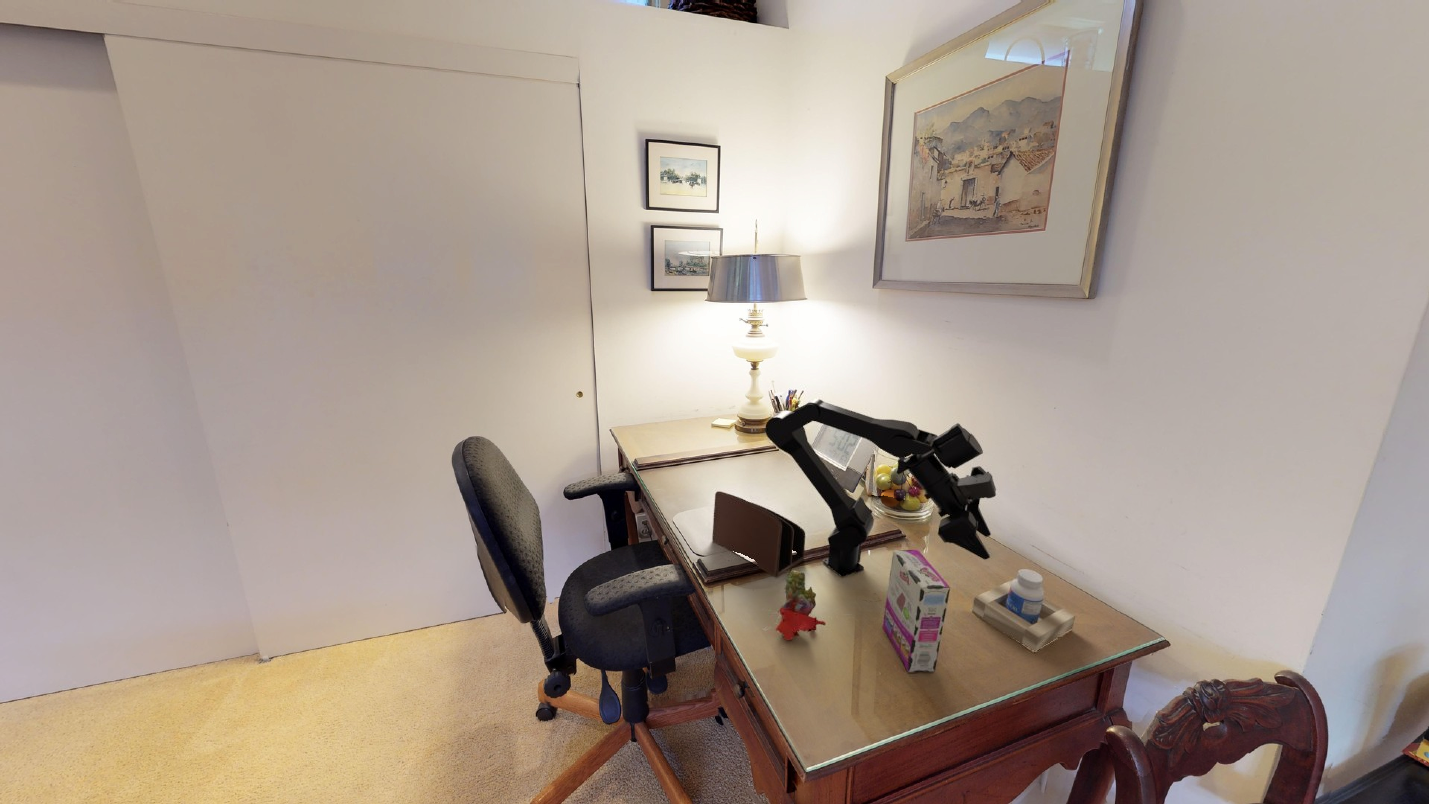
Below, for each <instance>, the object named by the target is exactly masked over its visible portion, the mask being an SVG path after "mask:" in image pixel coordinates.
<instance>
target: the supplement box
mask: <svg viewBox="0 0 1429 804" xmlns="http://www.w3.org/2000/svg"><path fill="white" fill-rule="evenodd" d="M874 462H875V454H874V453H872V457H871V461H870V463H869V466H868V465H867V466H868V470H867V469H866V476H865V490H866V495H867V496H870V497H871V495H872V492H873V469H874Z"/></svg>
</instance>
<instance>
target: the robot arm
mask: <svg viewBox="0 0 1429 804" xmlns="http://www.w3.org/2000/svg"><path fill="white" fill-rule="evenodd" d="M813 422H815V423H819V424H823V425H825V426H828V427H830V428H833V429H837V430H839V431H843V432H845V433H848V434H852V435H854V436H855V437H856V436H857V437H860V438H862V439H865V440H868V441H869V442H871V443H872V444H875V445H876V446H877V447H879V448H880V449H882V450H883V451H885V452H887V453H888V454H889V455H891V456H893V457H894V458H898V460H897V470H896V474H897V475H901V474H902V473H904V472H906V471H908V472H909V473H910V474H911V476H912V477H913V478H914V479H915V481H916V482H917V483H918V485H919V486H920V487H921V488H922V489H923V491H924V494H923V496H924V498H925V499H926V500H927V501H928V500H931V501H932V503H934V505H935V506H936V507H937V508H938V511H937V513H938V515H939V516H940V517H941V518H942V519H940V522H939V526H938V530H937V535H938V536H939V537H940V539H941V541H943V543H948V544H954V545H956V546H958V547H960V548H962V549H964V550H966V551H968V552H969V553H971V554H974V555H976V556H977V557H979V558H981V559H983V560H988V559H989V558H991V555H990V554H989V552H988V550H987V548H986V546H985V545H984V543H983V541H982V540H981V538H980V536H979V535H978V532H979V534H980V535H983V536H984V537H986V538H987V537H990V536H991V534H992V533H991V531H990V528H989V527H988V524H987V522H986V520H985V518H984V516H983V514H982V512H981V509H980V506H979V505H980V501H981V499H985V498H986V499H992V498H994V497H996V495H997V494H996V491H997V488H996V486H995V482H994V479H993V475H992V474H991V473H990V471H986V470H985V469H984V468H983V467H982V466H973V467H972V468H971V472H970V475H969V474H967V475H965V477H959V476H958V475H957V474H956V473H953V472H949V471H948V470H947V468H948V469H951V468H953V469H954V470H955V469H957V468H959V467H960V466H962V465H964V464H966V463H968V462H970V461H971V460H974V459H975V458H977V457H979V456H981V455H983V454H984V452H983V451H984V450H983V448H982V446H981V445H980V443H979V441H978V440H977V438H976V437H975V436H974V435H973V434H972V433H971V432H970V431H968V430H967V429H966V428H964V427H963V426H962V425H961V424H960V423H959V422H958V423H955V424H953V425H952V426H951V427H950V428H949V429H948V430H945V431H944V432H942V433H941V434H939V435H937V434H934V433H932V432H929V431H926V430H922V429H919V428H918V427H917V426H916V425H915V424H914V423H912V422H910V421H905V420H897V419H881V418H874V417H872V416H869V415H865V414H862V413H860V412H857V411H853V410H849V409H847V408H844V407H841V406H838V405H834V404H831V403H830V402H829V403H828V402H825V401H823V400H822V399H820V398H814V399H812V400H810V401H808V402H807V403H806V404H804V405H802V406H800V407H798V408H796V409H793V410H782V411H780V412H779V413H777V414H775V415H774V416H772V417H771V418H769V419H768V421H767V422H766V424H765V429H764V432H765V435H766V437H767V438H768V439H769V440H770V442H771V443H773V445H775V446H776V447H777V449H779V450H780V451H783V452H785V453H786V454H788V455H789V456H790V457H791V458H792V459H793V460H794V462H795V463H796V464H797V466H798V467H799V468H800V469H801V471H802V472H803V474H804V475H805V477H806V478H807V479H808V481H809V482H810V483H811V485H812V486H813V487H814V489H815V490H816V491H817V492H818V494H819V496H820V497H821V498H822V499H823V501H824V502H825V503H826V505H827V506H828V508H829V509H830V512H831V516H832V519H833V522H834V525H835V527H834V528H833V530H832V532H831V533H830V534H829V536H828V538H827V542H828V545H829V548H828V549H829V550H828V558H824V559H823V560H822V563H823V564H825V565H826V566H827V567H829V569H831V570H832V571H833V572H835V573H836V574H837V575H839V576H840V577H842V578H844V577H848V576H850V575H852V574H856V573H858V572H861V571H863V570H864V569H865V567H864V566H863V565H862V564H861V563H860V562H861V554H862V544H863V543H865V541H866V540H867V538H868V537H869V534H870V532H871V530H872V529H873V527H874V522H875V519H874V516H873V510H872V509H871V508H869V506H868V505H867V504H866V502H865V500H864V499H863V497H861V496H859V497H858V498H857V499H855V498H854V497H851V496H850V495H848V493H847V492H846V491H845V490H844V488H843V487H842V486H841V484H840V483H839V482H838V480H837V478H836V477H835V476H834V475H833V474H832V473H831V470H829V468H828V467H827V466H826V464H825V462H823V460H822V459H821V458H820V456H819V455H818V453H817V452H816V450H815V449H814V448H813V447H812V446H811V444H810V443H809V440H808V437H807V433H806V429H805V427H804V426H806V425H808V424H811V423H813ZM946 515H947V516H946ZM945 516H946V517H945ZM943 517H944V518H943Z"/></svg>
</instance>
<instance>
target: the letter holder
mask: <svg viewBox="0 0 1429 804" xmlns="http://www.w3.org/2000/svg"><path fill="white" fill-rule="evenodd" d="M711 538H712V542H714V543H716V544H717V543H718V545H719V546H721V547H723V548H724V547H725V548H724V549H726V548H727V549H726V550H727V551H730V552H731V551H734V552H737V553H741V554H743V555H745V556H748V557H749V558H751V559H754V560H755V561H756V562H757V563H758V567H757V568H759V569H760V570H762V571H764V572H765V573H767V574H768V575H771V576H772V577H774V578H776V579H777V578H778V577H780V576H782V575H783V574H784V573H787V572H788V571H789V570H791V569H792V568H794V567H795V566H797V565H798V564H800V563H801V562H804V559H805V551H806V550H805V547H806V546H805V545H806V531H805V530H804V529H803V528H802V527H801V526H800V525H798V524H797V523H795V522H794V521H792V520H790V519H789V518H787V517H785V516H783V515H782V514H779V513H777V512H775V511H774V510H772V509H769V508H767V507H764V506H762V505H760V504H757V503H754V502H752V501H751V502H750V501H749V500H746V499H743V498H742V497H739V496H735V495H734V494H731V493H727V492H723V491H720V490H719V491H716V492H715V494H714V506H713V522H712V537H711ZM792 550H793V551H796V552H797V554H796V555H792Z"/></svg>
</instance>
